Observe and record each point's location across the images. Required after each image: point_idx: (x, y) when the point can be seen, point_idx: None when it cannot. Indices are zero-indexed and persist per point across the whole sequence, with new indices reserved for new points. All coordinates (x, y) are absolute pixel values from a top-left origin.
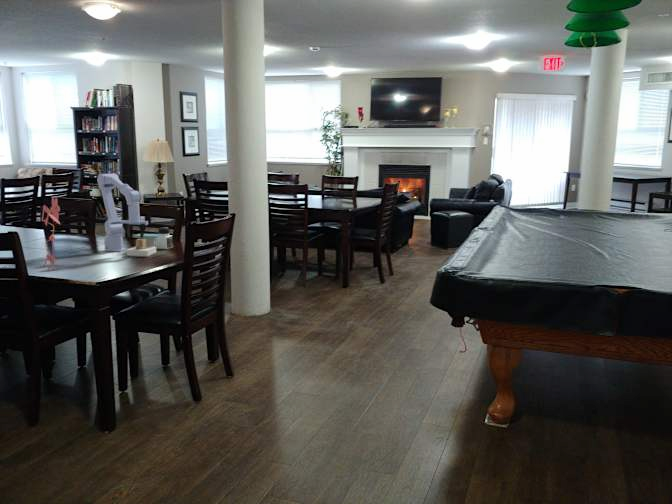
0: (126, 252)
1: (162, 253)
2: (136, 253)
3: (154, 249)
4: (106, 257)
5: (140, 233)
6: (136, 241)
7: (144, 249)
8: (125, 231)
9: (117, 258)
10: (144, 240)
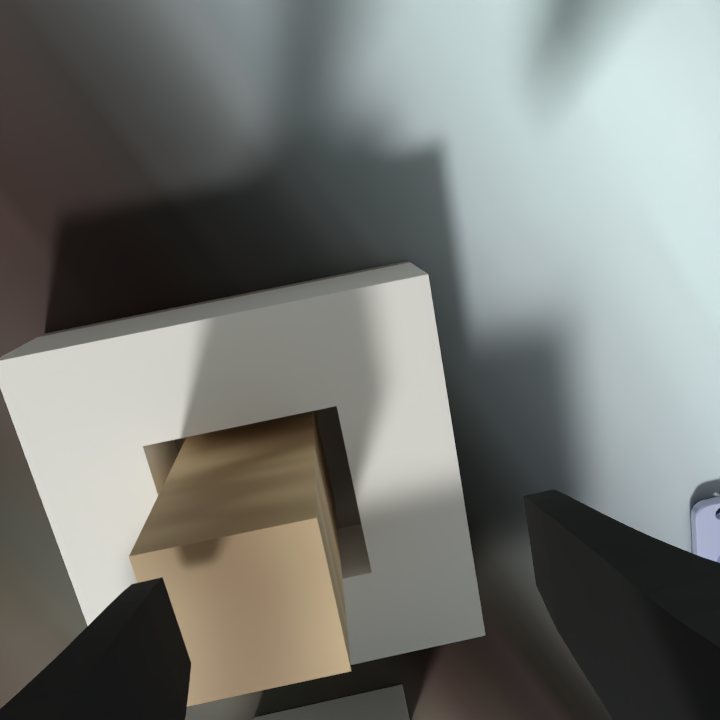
0: (419, 269)
1: (29, 634)
2: (230, 303)
3: None
4: (672, 58)
5: (100, 656)
6: (301, 502)
7: (134, 443)
8: (686, 554)
9: (449, 45)
10: None
